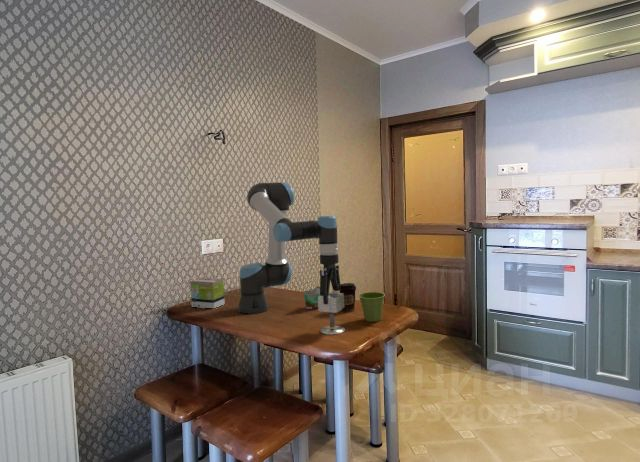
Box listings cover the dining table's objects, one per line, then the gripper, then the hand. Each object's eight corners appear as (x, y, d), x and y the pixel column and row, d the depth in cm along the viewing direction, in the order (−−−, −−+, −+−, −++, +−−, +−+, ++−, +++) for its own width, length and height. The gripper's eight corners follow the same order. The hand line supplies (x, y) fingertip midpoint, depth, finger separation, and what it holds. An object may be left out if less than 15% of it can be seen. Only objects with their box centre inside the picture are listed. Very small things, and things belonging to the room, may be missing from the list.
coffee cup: (355, 313, 184) (354, 286, 183) (338, 312, 185) (337, 286, 184) (357, 308, 192) (356, 282, 191) (341, 307, 194) (340, 282, 193)
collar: (318, 311, 157) (317, 296, 157) (326, 306, 164) (326, 292, 164) (336, 312, 154) (335, 297, 153) (344, 307, 161) (343, 293, 160)
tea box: (191, 308, 208) (189, 281, 207) (203, 303, 217) (201, 277, 216) (214, 309, 202) (212, 281, 201) (225, 304, 212) (223, 278, 211)
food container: (314, 312, 188) (313, 291, 188) (304, 310, 192) (303, 290, 191) (327, 305, 199) (327, 286, 198) (317, 304, 202) (316, 285, 201)
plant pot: (365, 314, 180) (364, 291, 179) (390, 317, 174) (389, 292, 173) (354, 322, 170) (353, 296, 169) (380, 325, 164) (379, 299, 163)
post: (316, 333, 157) (314, 306, 157) (326, 325, 166) (325, 300, 166) (338, 335, 153) (337, 308, 152) (348, 328, 162) (347, 302, 161)
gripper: (326, 257, 146) (329, 316, 148) (347, 250, 165) (349, 303, 167) (308, 257, 150) (311, 315, 151) (331, 250, 168) (333, 302, 170)
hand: (331, 308), depth 159 cm, fingers closed on collar, 8 cm apart
